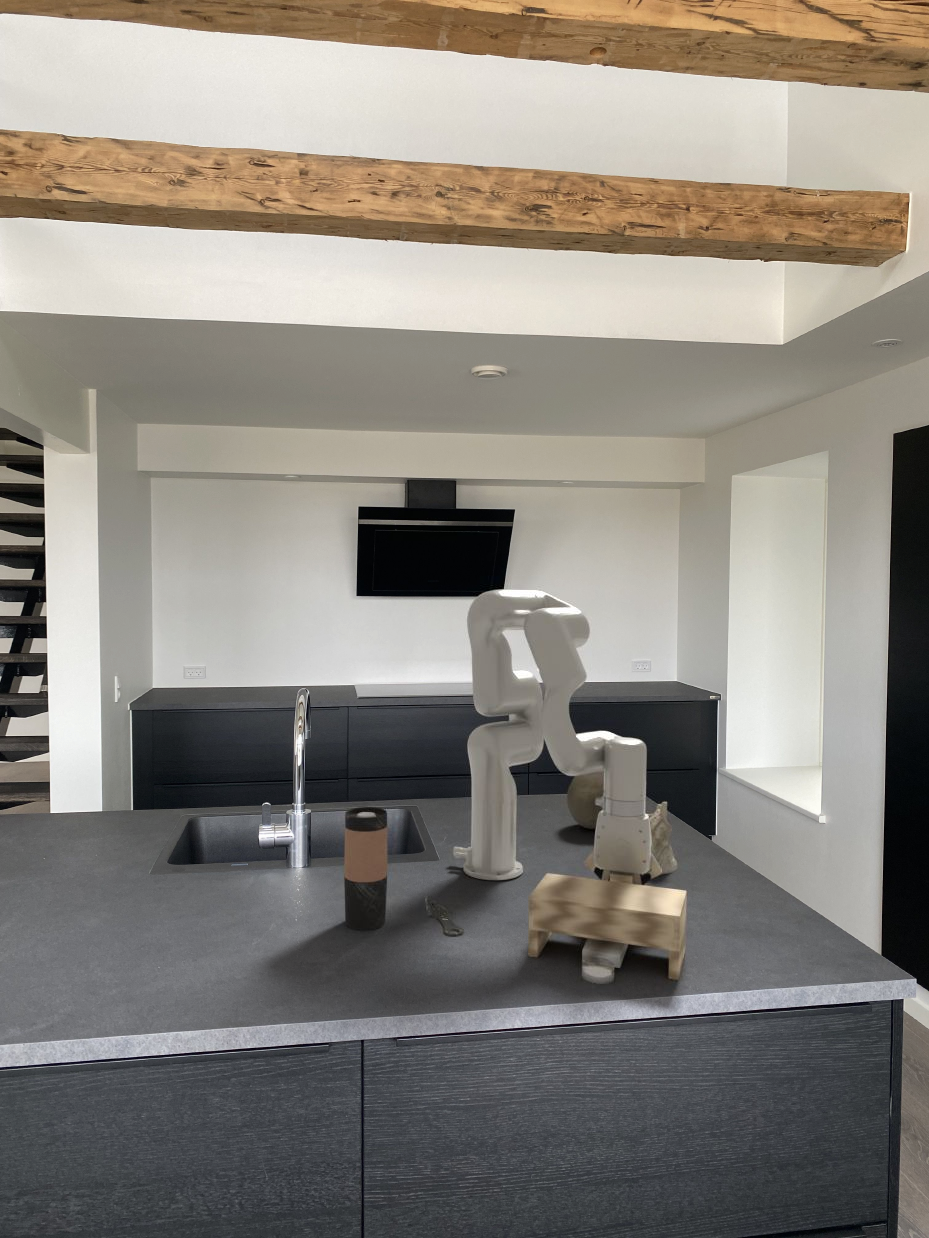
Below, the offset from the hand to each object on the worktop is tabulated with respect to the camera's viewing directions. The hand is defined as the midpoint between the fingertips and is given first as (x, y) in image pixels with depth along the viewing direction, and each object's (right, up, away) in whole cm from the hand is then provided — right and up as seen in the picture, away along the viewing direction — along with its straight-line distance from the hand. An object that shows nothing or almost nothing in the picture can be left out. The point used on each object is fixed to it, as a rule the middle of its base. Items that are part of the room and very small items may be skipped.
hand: (621, 904), depth 157 cm
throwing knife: (-33, -3, +1) cm, 33 cm away
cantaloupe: (+4, -1, +59) cm, 59 cm away
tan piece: (-3, -2, -9) cm, 10 cm away
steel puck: (-8, -4, -23) cm, 25 cm away
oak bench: (-5, -3, -14) cm, 16 cm away
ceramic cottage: (+10, -2, +33) cm, 34 cm away
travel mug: (-47, -2, -3) cm, 47 cm away
